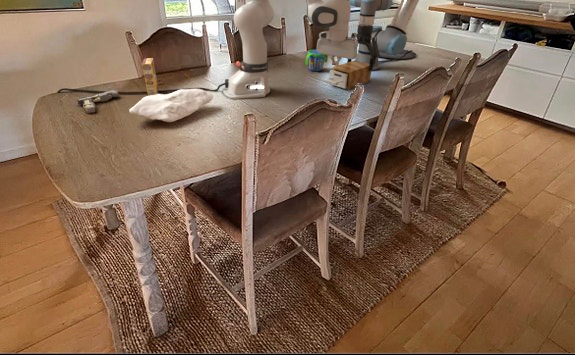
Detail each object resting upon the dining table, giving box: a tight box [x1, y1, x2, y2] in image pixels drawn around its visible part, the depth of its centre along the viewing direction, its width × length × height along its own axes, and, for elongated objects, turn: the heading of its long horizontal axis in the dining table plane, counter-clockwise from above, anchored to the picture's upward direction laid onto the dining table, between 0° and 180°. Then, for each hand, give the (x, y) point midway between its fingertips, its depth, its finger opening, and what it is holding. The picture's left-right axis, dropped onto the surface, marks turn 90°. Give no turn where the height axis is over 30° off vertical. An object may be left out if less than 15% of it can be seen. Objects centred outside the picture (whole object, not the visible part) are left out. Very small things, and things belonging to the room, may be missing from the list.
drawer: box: [323, 69, 349, 89], centre depth 186 cm, size 24×10×7 cm, turn 136°
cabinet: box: [332, 60, 372, 90], centre depth 190 cm, size 19×11×9 cm, turn 136°
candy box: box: [141, 57, 160, 96], centre depth 163 cm, size 9×4×15 cm, turn 13°
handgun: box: [76, 89, 120, 114], centre depth 155 cm, size 3×18×15 cm
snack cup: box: [304, 49, 328, 72], centre depth 207 cm, size 16×10×10 cm
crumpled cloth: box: [129, 88, 214, 123], centre depth 147 cm, size 24×35×9 cm
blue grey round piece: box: [379, 48, 417, 60], centre depth 248 cm, size 35×35×9 cm
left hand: (335, 65), depth 176 cm, fingers closed
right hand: (359, 67), depth 193 cm, fingers open, 13 cm apart
